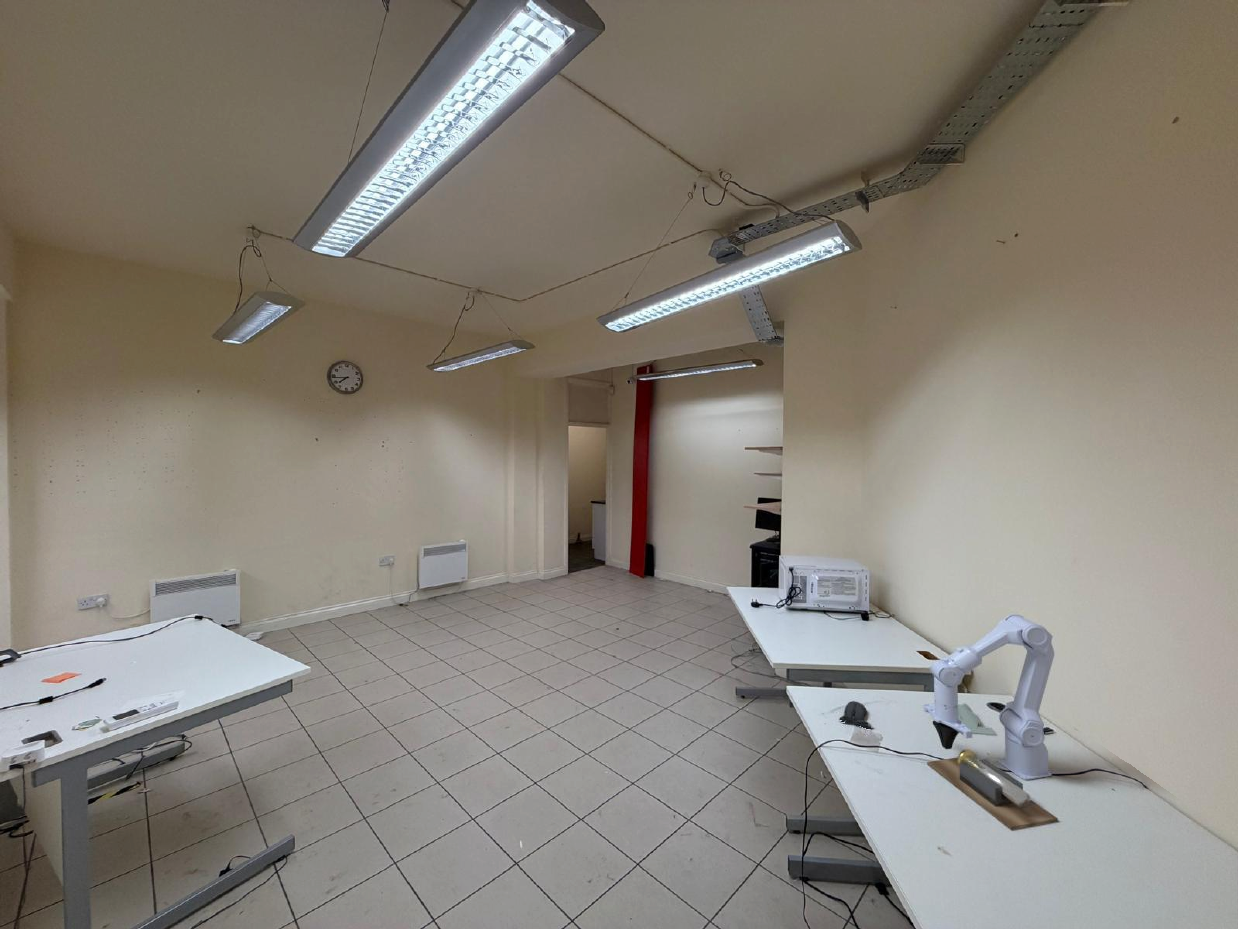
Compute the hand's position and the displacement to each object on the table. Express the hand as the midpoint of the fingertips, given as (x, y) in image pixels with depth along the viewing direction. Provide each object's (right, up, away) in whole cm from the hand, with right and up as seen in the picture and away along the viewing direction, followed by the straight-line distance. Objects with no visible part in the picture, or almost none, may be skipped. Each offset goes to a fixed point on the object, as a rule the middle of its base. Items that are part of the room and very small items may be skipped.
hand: (947, 747), depth 133 cm
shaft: (+2, -3, -13) cm, 14 cm away
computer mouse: (-14, -5, +24) cm, 29 cm away
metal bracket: (+19, -5, +19) cm, 27 cm away
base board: (+2, -4, -13) cm, 14 cm away
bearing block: (+2, -4, -13) cm, 14 cm away
